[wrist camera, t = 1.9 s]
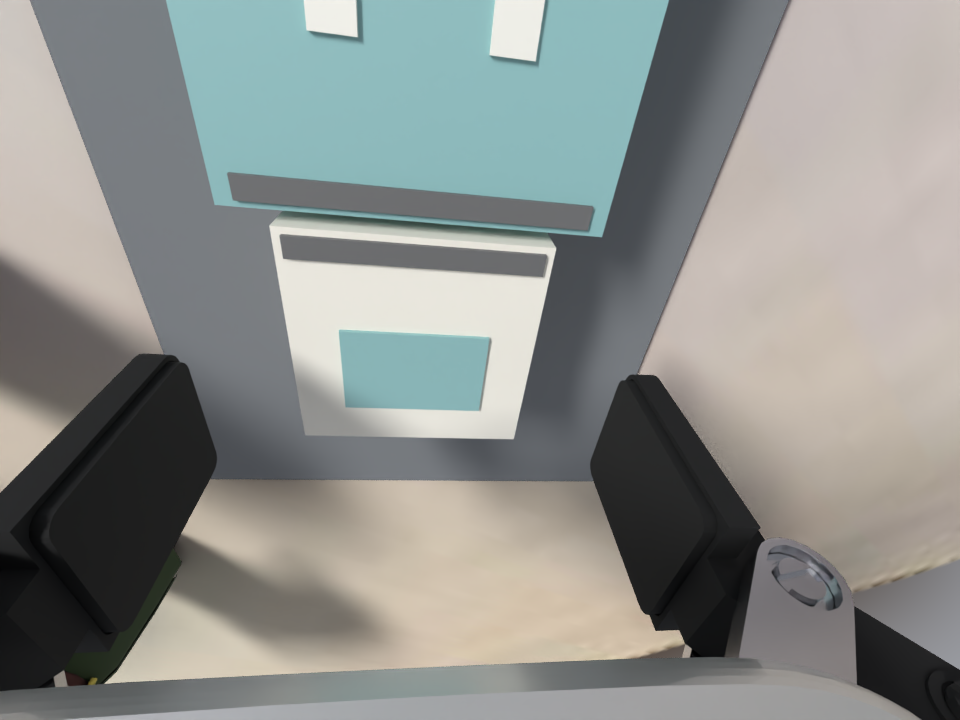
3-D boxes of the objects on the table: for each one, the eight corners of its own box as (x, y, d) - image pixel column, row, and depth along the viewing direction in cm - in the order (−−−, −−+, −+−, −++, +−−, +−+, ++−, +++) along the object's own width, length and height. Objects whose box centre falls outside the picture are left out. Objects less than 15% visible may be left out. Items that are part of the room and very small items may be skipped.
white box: (317, 171, 12) (267, 227, 9) (523, 191, 13) (557, 250, 10) (334, 345, 16) (304, 437, 12) (496, 352, 17) (514, 441, 13)
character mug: (177, 605, 27) (10, 971, 16) (34, 584, 24) (-273, 1001, 14) (214, 504, 21) (4, 948, 11) (37, 463, 19) (-458, 991, 8)
